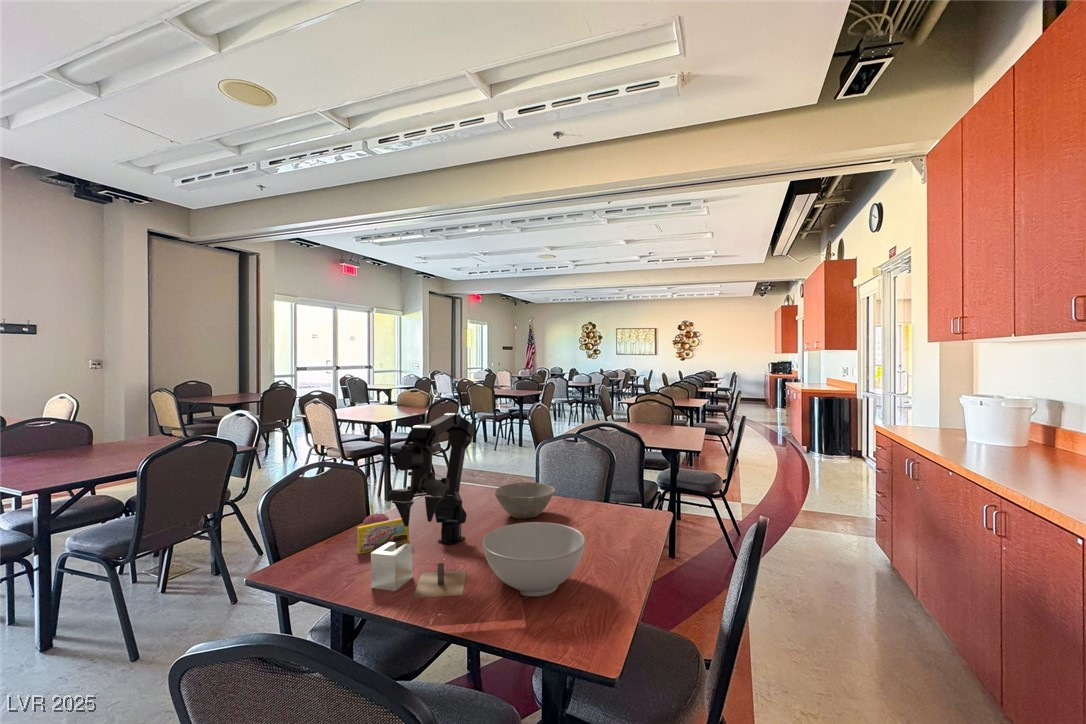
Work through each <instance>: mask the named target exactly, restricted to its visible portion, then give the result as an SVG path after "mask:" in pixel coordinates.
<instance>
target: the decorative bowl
mask: <svg viewBox="0 0 1086 724" xmlns="http://www.w3.org/2000/svg"><path fill="white" fill-rule="evenodd" d="M481 547H482V550H483V552H484V553H483V555H484V556H485V558H486V560H487V563H488V565H489V566H490V568H491V570H492V572H493V573H494V574H495V575H496V576H497V578H498V579H499V580H501V581H502V582H503V583H504V584H506V585H507V586H509V587H510V588H513V589H515V590H517V591H519V594H520V595H521V596H525V597H542V596H546V595H550V594H552V593H553V592H555V591H556V590H557V589H558V588H559V585H560V584H562V583H564V582H565V581H566V580H568V578H569V577H571V576H572V575H573V573H574V571H575V569H576V568H577V567H578V566H579V563H580V561H581V559H582V557H583V553H584V551H585V547H586V537H585V536H584V534H583V533H582V532H581V531H579V530H578V529H576V528H574V527H571V526H570V525H569V526H568V525H564V524H561V523H555V522H547V521H546V522H544V521H543V522H542V521H532V522H531V521H529V522H519V523H518V522H517V523H513V524H508V525H503V526H501V527H498V528H495V529H493V530H491V531H489V532H488V533H486V534H485V536H483V539H482V541H481Z"/></svg>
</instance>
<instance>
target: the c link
mask: <svg viewBox="0 0 1086 724" xmlns="http://www.w3.org/2000/svg"><path fill="white" fill-rule="evenodd" d="M396 547H397V545H396V542H388V543H387V544H385V545H383V546H382V547H380V548H378V549H377V550H375V551H371V552H370V575H371V576H370V581H371V583H370V585H371V586H370V587H371V589H377V590H385V591H393V592H396V591H397V590H398V589H400V588H401V587H402V586H403V585H405V584H406V583H407V582H409V581H410V580H412V579H413V544H412V543H403V544H401V546H400V547H398V548H396Z"/></svg>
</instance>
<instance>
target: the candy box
mask: <svg viewBox="0 0 1086 724" xmlns="http://www.w3.org/2000/svg"><path fill="white" fill-rule="evenodd" d="M356 529H357V531H356V532H357V533H356V534H357V535H356V537H357V540H356V542H357V543H356V553H357V554H358V555H363V554H366V553H369V552H370V553H372V552H374V551H375V550H377V549H378V548H380V547H382V546H383V545H385V544H387V543H388V542H396V546H398V545H404V544H405V543H406V544H408V543H410V524H409V525H408V526H407V527H406V526H404V523H403V521H402V519H401V517H399V518H394V519H389V520H388V521H383V522H378V523H373V524H369V525H364V526H363V525H361V526H357V527H356Z"/></svg>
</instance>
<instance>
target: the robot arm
mask: <svg viewBox="0 0 1086 724" xmlns="http://www.w3.org/2000/svg"><path fill="white" fill-rule="evenodd" d="M444 433H446V434H447V440H448V442H449V444H450V446H451V447H450V453H449V459H448V463H447V464H448V465H447V469H446V470H447V471H446V477H442V478H441V479H439V478H436V475H435V472H434V471H432V470H433V469H432V465H433V453H436V448H434V447H433V446H434V445H435V444H436V443H437V442H438V440H439V439H440V435H443V434H444ZM474 434H475V427H474V426H473V424H472V423H471V422H470V421H469V420H468V419H466V418H464V417H463V416H462V415H461V414H460V413H458V412H446V413H444V414H443V415H442V416H440V417H438V418H436V419H434V420H432V421H431V422H429V423H420V424H416V425H413V426H412V427H411V428H410V431H409V433H408V434H407V437H406V439H405V440H404V443H403V445H401V448H400V449H401V450H398V452H396V454H395V456H394V457H393V464H394V466H395V468H396V469H397V470H399V471H407V472H408V473H407V476H410V485H409V486H408V485H407V488H405V489H403V488H398V489H391V490H390V492H389V493H388V501H390V502H391V503H392V504H394V505H395V507H396V509H397V511H398V513H399V516H400V518H401V519H402V521H403V523H404V526H406V527H407V526H408V525H409V526H410V518H411V517H410V516H411V508H412V506H413V505H414V503H415V501H413V500H414V499H415V498H417V497H424V503H425V511H426V512H425V513H426V518H427V522H428V523H429V522H430V523H431V522H432V521H433V518H434V517H435V521H436V522H435V523H437V524H439V523H441V529H440V535H441V537H440V539H438V540H437V542H438V543H443V544H447V545H456V544H457V543H460V542H461V541H463V540H465V539H466V536H464V535H463V536H462V525H463V524H466V521H467V512H466V511H465V509H464V508H463V500H462V496H461V494H460V487H461V480H462V475H463V467H464V463H465V462H464V461H465V454H466V450H467V448H469V446H470V445H471V443H472V440H473V437H474Z"/></svg>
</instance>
